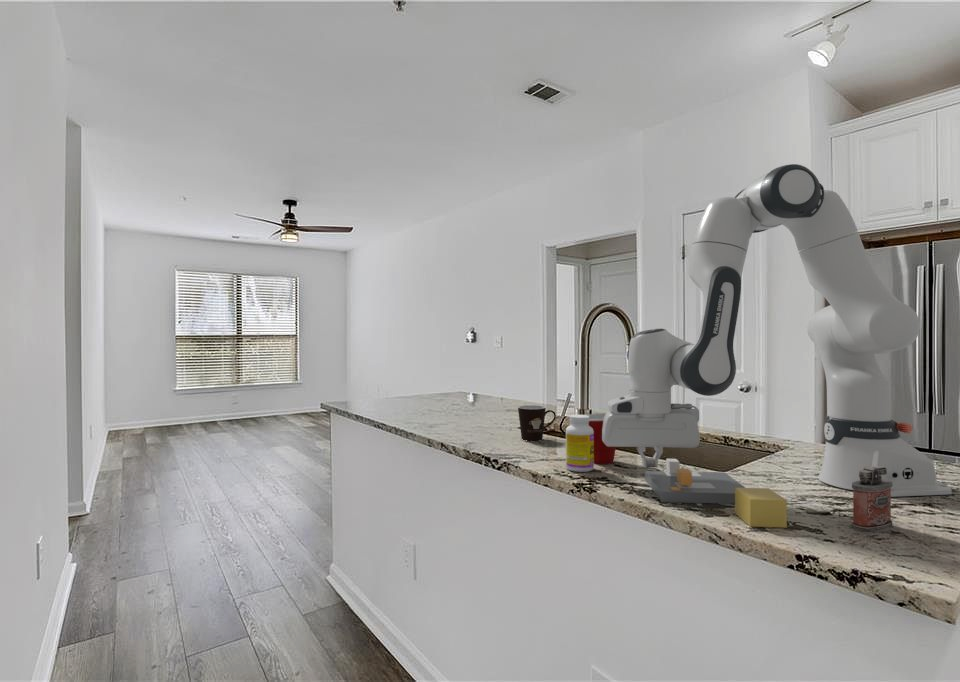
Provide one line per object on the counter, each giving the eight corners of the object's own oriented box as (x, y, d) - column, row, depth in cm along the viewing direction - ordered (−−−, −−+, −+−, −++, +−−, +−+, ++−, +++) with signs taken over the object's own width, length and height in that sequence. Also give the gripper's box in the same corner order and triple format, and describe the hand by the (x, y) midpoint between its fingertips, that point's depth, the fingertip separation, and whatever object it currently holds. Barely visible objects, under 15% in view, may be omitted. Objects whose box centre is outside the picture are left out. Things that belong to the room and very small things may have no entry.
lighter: (868, 534, 83) (868, 472, 83) (846, 527, 86) (846, 467, 86) (898, 526, 86) (898, 467, 86) (875, 520, 89) (875, 462, 89)
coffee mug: (516, 441, 156) (516, 408, 156) (519, 436, 165) (519, 405, 165) (555, 442, 155) (555, 409, 154) (556, 437, 163) (555, 405, 163)
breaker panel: (724, 481, 113) (724, 471, 113) (754, 504, 98) (754, 492, 98) (644, 480, 115) (644, 470, 115) (661, 502, 100) (661, 490, 100)
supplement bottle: (594, 473, 121) (593, 418, 120) (565, 472, 122) (565, 417, 122) (593, 466, 127) (593, 414, 127) (566, 465, 128) (566, 413, 128)
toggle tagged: (687, 481, 105) (687, 468, 105) (691, 485, 102) (691, 472, 102) (677, 480, 105) (677, 468, 105) (681, 485, 102) (681, 472, 102)
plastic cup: (584, 454, 139) (584, 410, 139) (626, 458, 134) (625, 412, 134) (574, 464, 129) (574, 416, 129) (618, 468, 125) (618, 419, 124)
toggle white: (675, 470, 113) (675, 458, 113) (679, 473, 110) (679, 462, 110) (666, 469, 114) (666, 458, 114) (670, 473, 111) (670, 461, 111)
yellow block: (768, 513, 93) (768, 488, 93) (786, 527, 86) (786, 500, 86) (734, 512, 93) (734, 487, 93) (750, 526, 87) (750, 499, 87)
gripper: (694, 401, 114) (694, 463, 115) (600, 401, 117) (601, 462, 117) (703, 405, 108) (704, 471, 108) (604, 405, 110) (604, 469, 110)
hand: (650, 466), depth 113 cm, fingers closed
